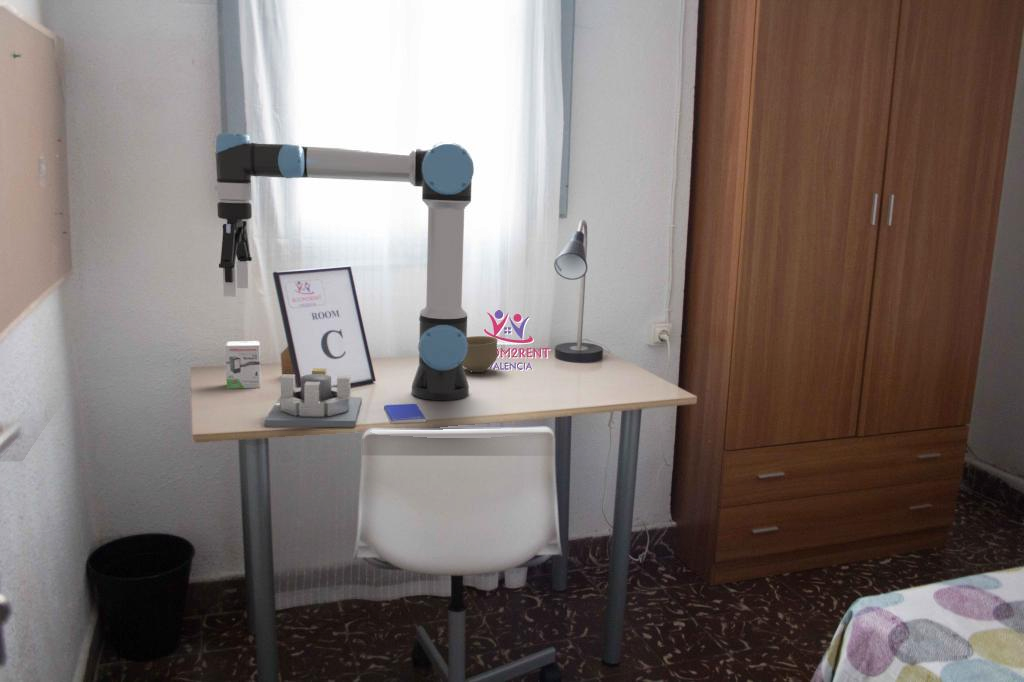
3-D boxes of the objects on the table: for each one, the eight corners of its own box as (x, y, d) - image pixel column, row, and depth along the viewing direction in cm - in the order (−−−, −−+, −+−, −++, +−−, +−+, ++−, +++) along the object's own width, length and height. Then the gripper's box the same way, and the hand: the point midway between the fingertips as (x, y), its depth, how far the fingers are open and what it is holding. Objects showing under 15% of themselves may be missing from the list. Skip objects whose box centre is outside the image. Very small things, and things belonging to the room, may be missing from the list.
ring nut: (352, 398, 204) (352, 369, 202) (346, 416, 189) (346, 385, 187) (287, 397, 202) (287, 368, 201) (276, 416, 187) (275, 384, 185)
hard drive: (426, 417, 193) (416, 403, 205) (391, 419, 191) (383, 404, 202) (426, 423, 194) (416, 409, 205) (391, 425, 191) (383, 410, 203)
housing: (361, 402, 207) (361, 368, 205) (355, 427, 187) (355, 389, 185) (280, 402, 204) (279, 367, 203) (265, 426, 185) (264, 388, 183)
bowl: (453, 366, 250) (454, 334, 248) (495, 367, 251) (496, 335, 249) (454, 376, 237) (455, 342, 235) (498, 377, 239) (499, 343, 237)
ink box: (226, 389, 214) (225, 345, 212) (227, 384, 219) (225, 341, 216) (260, 388, 217) (259, 344, 214) (260, 383, 221) (259, 340, 219)
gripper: (230, 199, 202) (232, 284, 206) (203, 203, 178) (206, 299, 182) (261, 200, 203) (263, 285, 207) (239, 204, 178) (241, 300, 183)
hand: (236, 292), depth 194 cm, fingers open, 13 cm apart
